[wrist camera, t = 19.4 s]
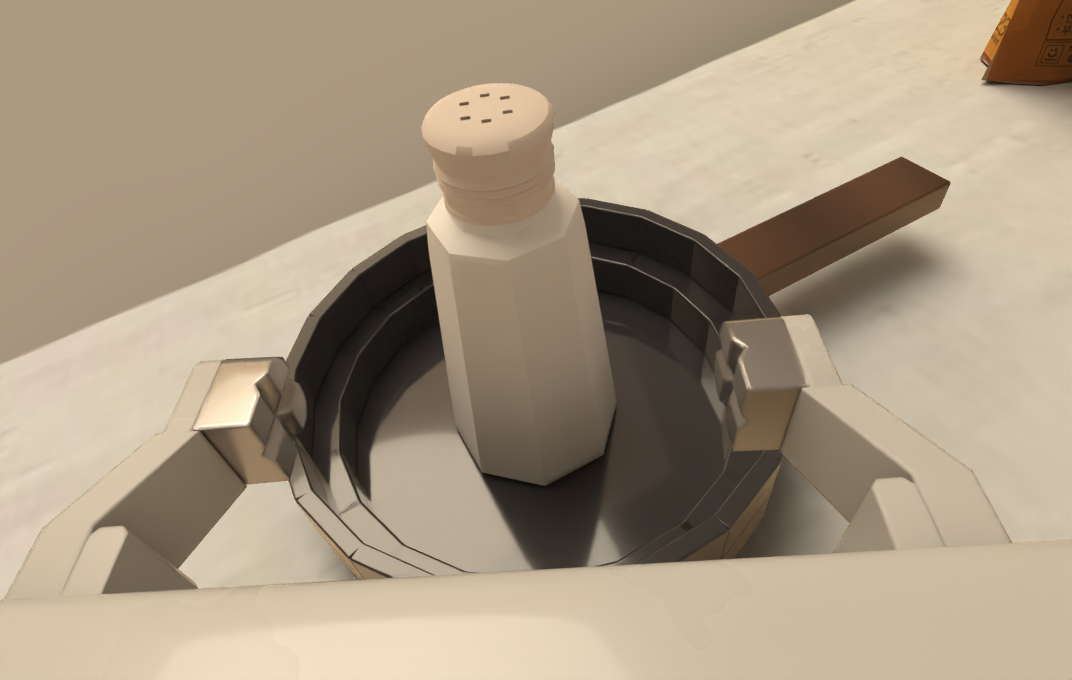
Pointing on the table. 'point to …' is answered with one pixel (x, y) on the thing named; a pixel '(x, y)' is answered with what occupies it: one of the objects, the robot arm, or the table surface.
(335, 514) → the pan
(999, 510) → the table surface
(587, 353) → the pepper shaker
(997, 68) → the pancake mix bag
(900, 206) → the pan handle
